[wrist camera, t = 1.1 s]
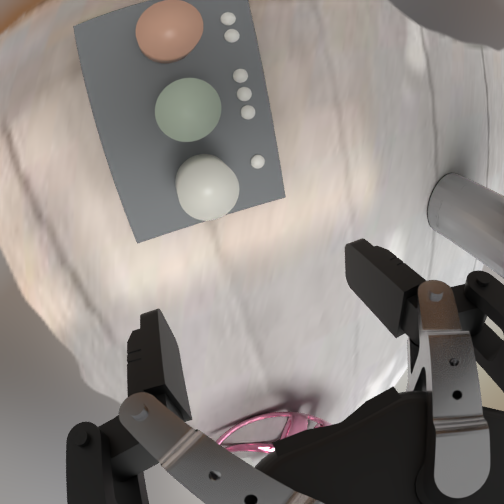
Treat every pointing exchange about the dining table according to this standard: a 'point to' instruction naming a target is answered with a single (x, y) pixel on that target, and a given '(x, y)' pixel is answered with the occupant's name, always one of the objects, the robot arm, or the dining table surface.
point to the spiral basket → (293, 426)
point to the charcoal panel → (144, 122)
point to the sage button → (188, 109)
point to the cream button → (206, 187)
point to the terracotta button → (169, 30)
